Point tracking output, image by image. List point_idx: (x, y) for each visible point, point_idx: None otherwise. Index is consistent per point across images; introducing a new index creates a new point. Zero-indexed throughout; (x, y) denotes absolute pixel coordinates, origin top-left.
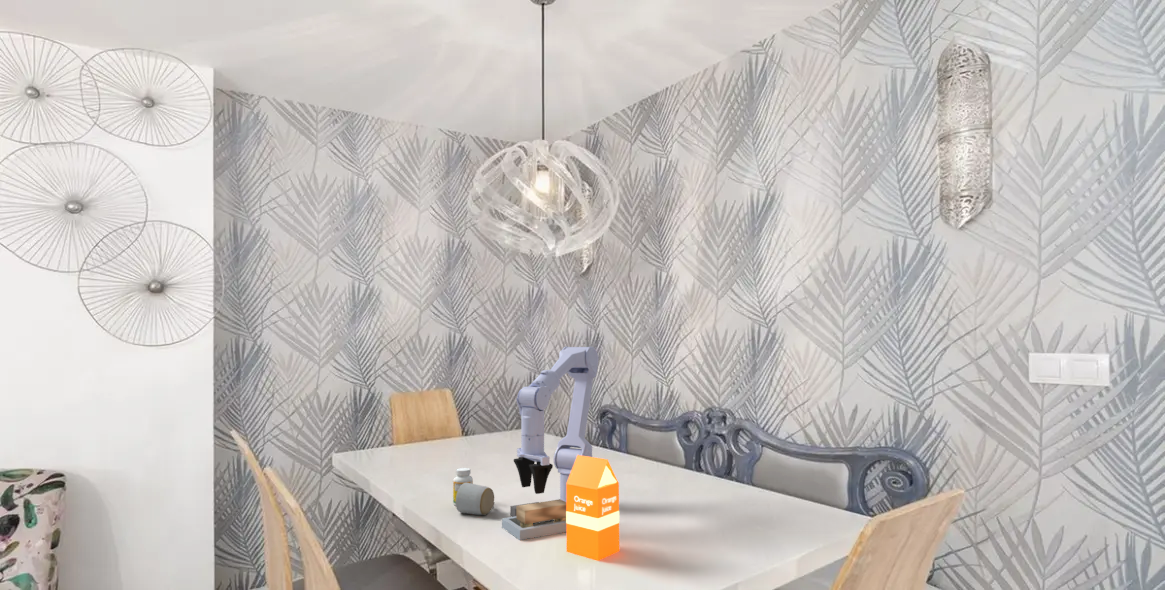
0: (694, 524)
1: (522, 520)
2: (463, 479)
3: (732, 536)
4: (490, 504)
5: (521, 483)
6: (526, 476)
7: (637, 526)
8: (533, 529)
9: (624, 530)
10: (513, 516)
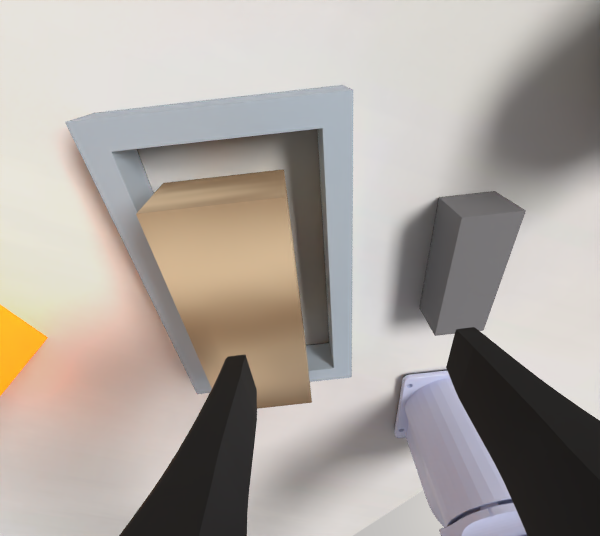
0: None
1: (195, 183)
2: None
3: (81, 520)
4: None
5: (484, 344)
6: (498, 421)
7: None
8: (109, 204)
9: (157, 426)
10: (460, 197)
